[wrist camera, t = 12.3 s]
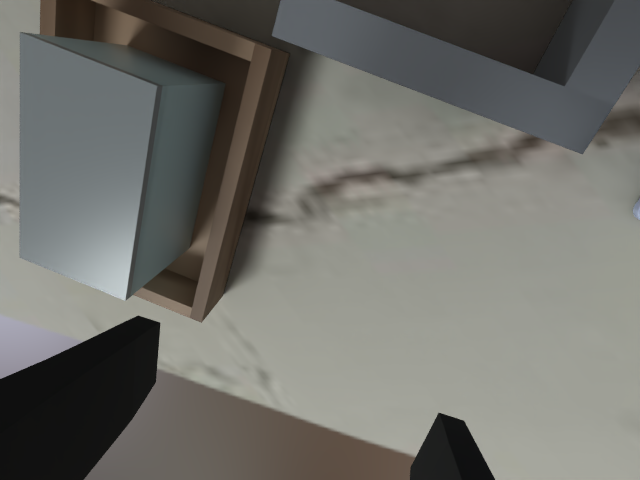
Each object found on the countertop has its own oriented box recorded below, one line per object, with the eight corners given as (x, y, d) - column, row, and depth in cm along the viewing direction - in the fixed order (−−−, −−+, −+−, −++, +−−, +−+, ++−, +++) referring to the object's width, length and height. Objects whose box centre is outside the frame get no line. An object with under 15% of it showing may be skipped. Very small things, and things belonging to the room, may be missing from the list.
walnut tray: (290, 53, 15) (271, 49, 13) (222, 295, 20) (201, 322, 18) (92, -22, 16) (41, -39, 13) (75, 235, 21) (35, 255, 18)
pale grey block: (225, 83, 16) (157, 86, 11) (189, 248, 19) (125, 300, 15) (127, 45, 16) (20, 32, 11) (108, 215, 19) (19, 257, 15)
